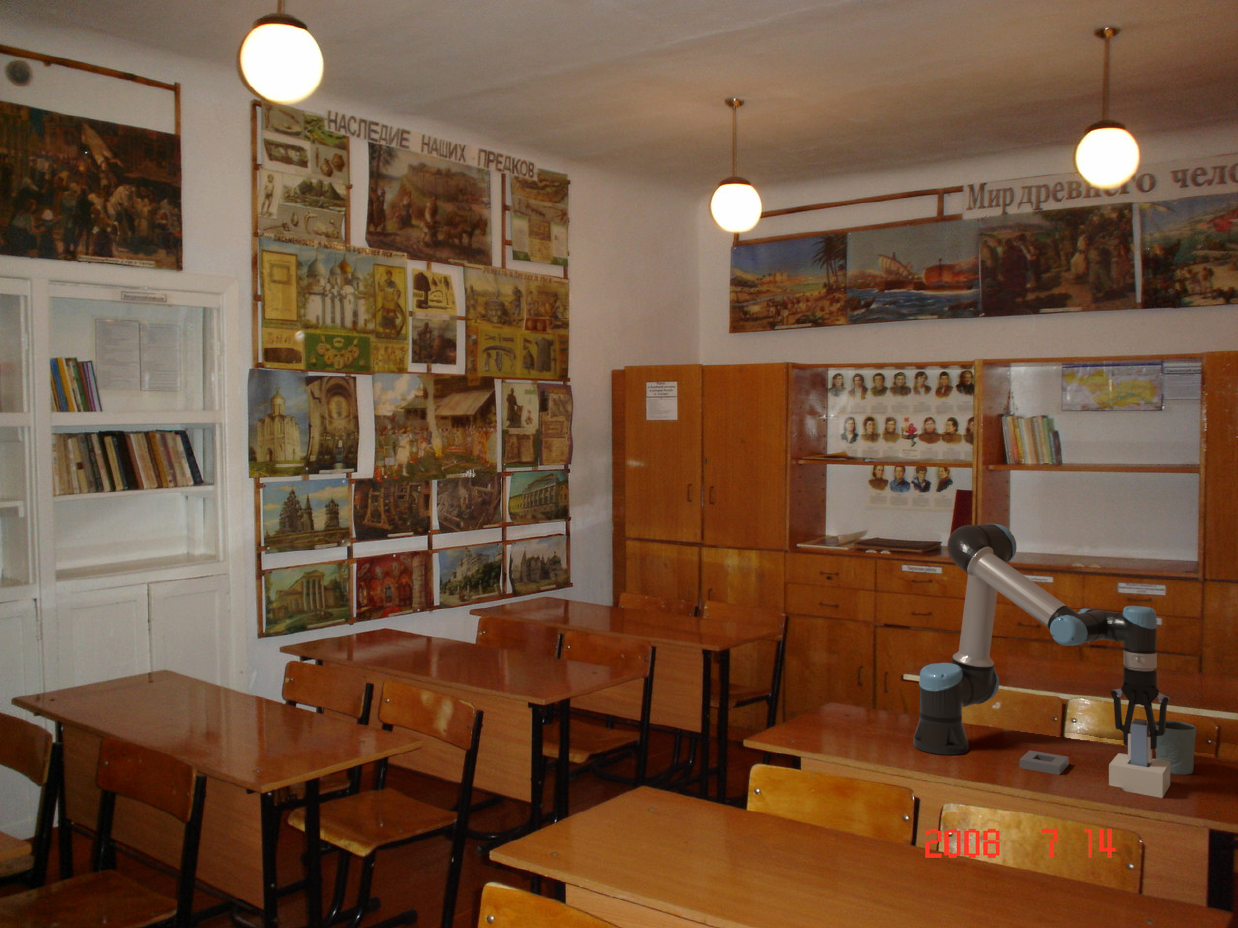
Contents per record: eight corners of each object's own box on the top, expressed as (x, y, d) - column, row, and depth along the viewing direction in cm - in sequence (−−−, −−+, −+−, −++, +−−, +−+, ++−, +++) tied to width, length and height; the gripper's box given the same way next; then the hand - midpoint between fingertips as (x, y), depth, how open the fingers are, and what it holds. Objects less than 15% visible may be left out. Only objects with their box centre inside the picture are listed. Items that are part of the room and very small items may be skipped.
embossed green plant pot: (1155, 772, 261) (1155, 727, 261) (1150, 761, 271) (1151, 718, 270) (1199, 777, 257) (1199, 731, 257) (1193, 765, 267) (1193, 721, 267)
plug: (1130, 770, 250) (1130, 720, 250) (1133, 767, 253) (1133, 717, 253) (1146, 773, 248) (1146, 722, 248) (1149, 769, 250) (1149, 719, 250)
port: (1108, 788, 249) (1109, 764, 249) (1118, 775, 259) (1118, 752, 259) (1162, 797, 242) (1162, 773, 242) (1170, 784, 251) (1170, 761, 251)
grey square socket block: (1019, 770, 263) (1019, 759, 263) (1029, 760, 271) (1029, 750, 271) (1059, 777, 257) (1059, 766, 257) (1068, 767, 265) (1068, 756, 265)
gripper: (1101, 666, 252) (1101, 757, 252) (1175, 674, 242) (1175, 769, 242) (1107, 661, 258) (1107, 750, 258) (1179, 669, 248) (1179, 762, 248)
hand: (1139, 759), depth 250 cm, fingers closed on plug, 4 cm apart
